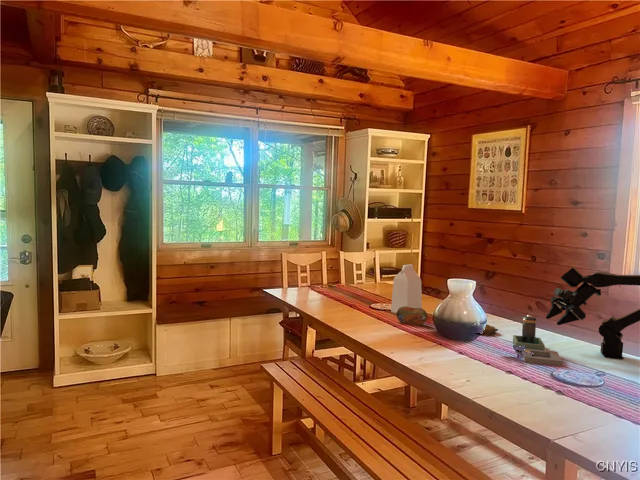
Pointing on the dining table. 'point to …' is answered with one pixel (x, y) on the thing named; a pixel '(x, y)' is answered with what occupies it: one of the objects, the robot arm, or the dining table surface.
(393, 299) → the milk
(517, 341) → the cup
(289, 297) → the dining table surface
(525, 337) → the battery cell
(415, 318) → the tin
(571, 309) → the robot arm
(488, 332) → the decorative rock
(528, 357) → the tester cradle
